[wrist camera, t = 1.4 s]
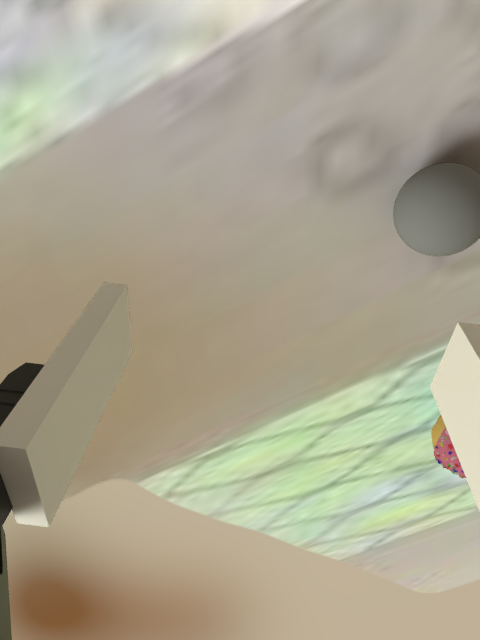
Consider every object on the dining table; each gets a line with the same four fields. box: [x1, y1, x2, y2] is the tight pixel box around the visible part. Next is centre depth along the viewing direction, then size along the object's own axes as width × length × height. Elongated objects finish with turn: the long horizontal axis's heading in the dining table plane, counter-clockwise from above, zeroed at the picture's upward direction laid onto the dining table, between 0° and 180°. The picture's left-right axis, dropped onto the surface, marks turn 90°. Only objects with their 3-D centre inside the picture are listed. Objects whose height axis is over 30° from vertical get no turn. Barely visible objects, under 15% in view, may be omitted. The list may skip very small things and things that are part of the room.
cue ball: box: [393, 163, 480, 256], centre depth 27 cm, size 6×6×6 cm
